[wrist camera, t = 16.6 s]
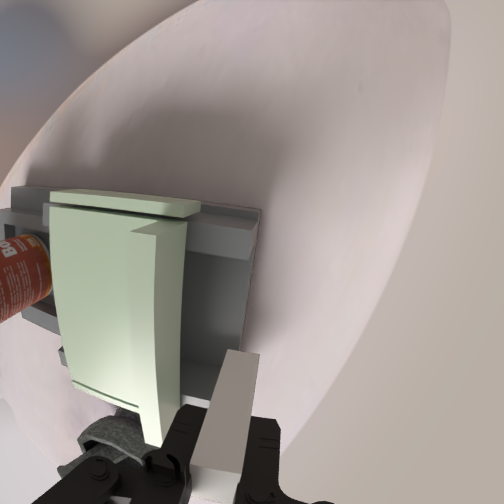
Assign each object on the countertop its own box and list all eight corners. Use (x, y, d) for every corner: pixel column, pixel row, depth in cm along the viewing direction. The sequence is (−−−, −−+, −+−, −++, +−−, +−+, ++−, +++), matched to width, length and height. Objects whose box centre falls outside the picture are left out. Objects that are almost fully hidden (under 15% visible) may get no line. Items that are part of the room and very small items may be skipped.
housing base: (31, 309, 24) (-3, 330, 18) (22, 185, 21) (-21, 191, 15) (236, 373, 23) (225, 422, 17) (261, 209, 19) (253, 220, 14)
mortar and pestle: (165, 402, 25) (120, 492, 13) (187, 453, 27) (160, 530, 15) (84, 388, 26) (31, 451, 14) (112, 438, 28) (76, 498, 16)
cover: (91, 367, 20) (53, 408, 14) (79, 188, 16) (14, 196, 10) (188, 398, 19) (164, 455, 13) (201, 200, 16) (158, 211, 10)
